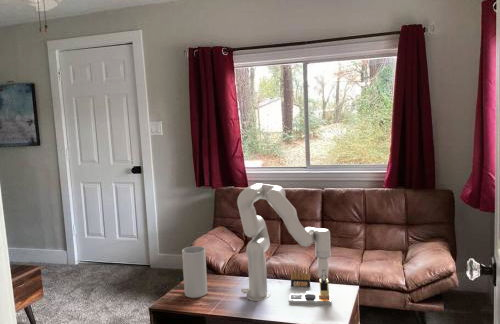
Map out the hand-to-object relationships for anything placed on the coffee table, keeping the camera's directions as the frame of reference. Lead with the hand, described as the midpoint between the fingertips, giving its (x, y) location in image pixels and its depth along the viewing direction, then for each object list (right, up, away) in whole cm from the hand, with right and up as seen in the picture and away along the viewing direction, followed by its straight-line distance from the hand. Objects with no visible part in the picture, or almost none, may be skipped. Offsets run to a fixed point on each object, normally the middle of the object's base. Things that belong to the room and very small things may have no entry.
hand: (323, 288), depth 217 cm
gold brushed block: (0, -3, 0) cm, 3 cm away
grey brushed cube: (-7, -7, +2) cm, 10 cm away
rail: (-7, -8, +2) cm, 11 cm away
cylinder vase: (-67, -9, +19) cm, 71 cm away
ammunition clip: (-9, -6, +22) cm, 24 cm away
